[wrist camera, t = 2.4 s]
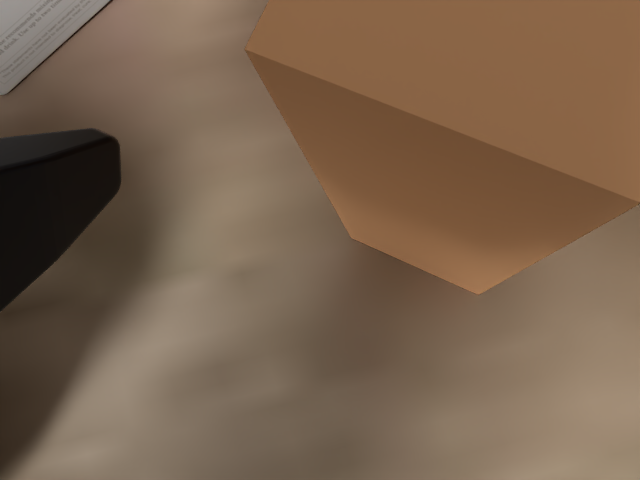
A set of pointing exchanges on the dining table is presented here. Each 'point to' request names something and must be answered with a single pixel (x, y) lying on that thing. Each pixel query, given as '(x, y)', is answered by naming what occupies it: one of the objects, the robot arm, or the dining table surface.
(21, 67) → the supplement box
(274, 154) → the dining table surface
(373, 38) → the orange carton
